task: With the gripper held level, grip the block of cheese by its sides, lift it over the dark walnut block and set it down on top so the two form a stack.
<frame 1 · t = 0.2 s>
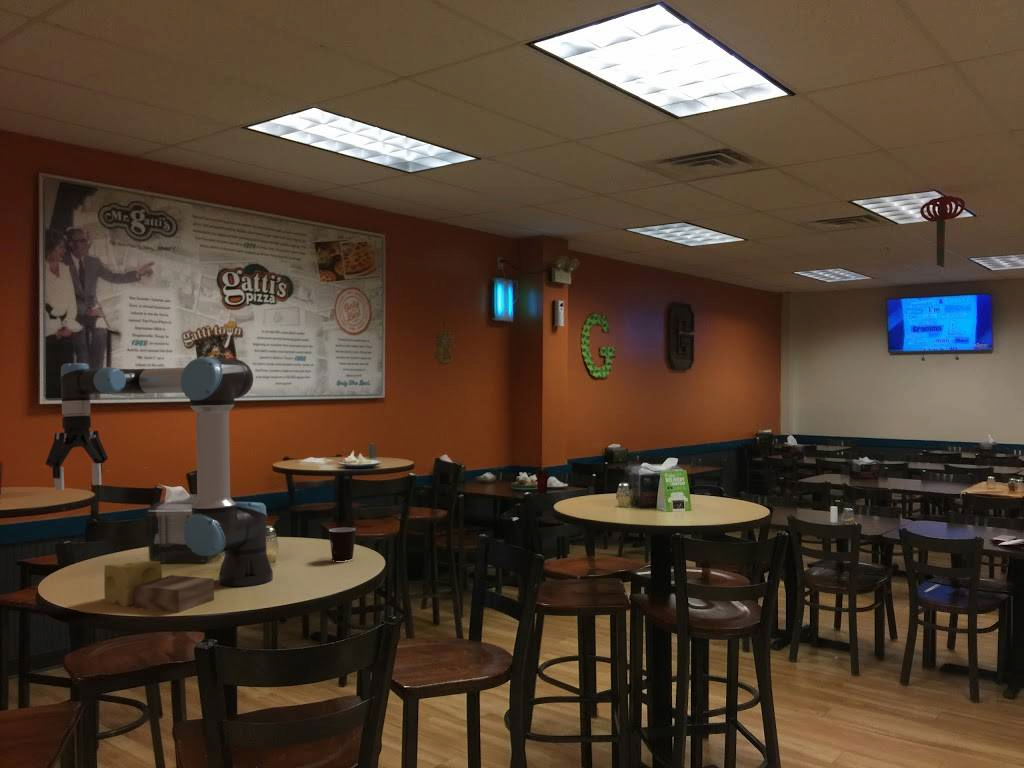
hand: (78, 487, 247), 27 cm above the table, tool pointing down, fingers open, 13 cm apart
cheese: (132, 601, 223), on the table
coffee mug: (343, 560, 274), on the table
walnut block: (175, 605, 218), on the table
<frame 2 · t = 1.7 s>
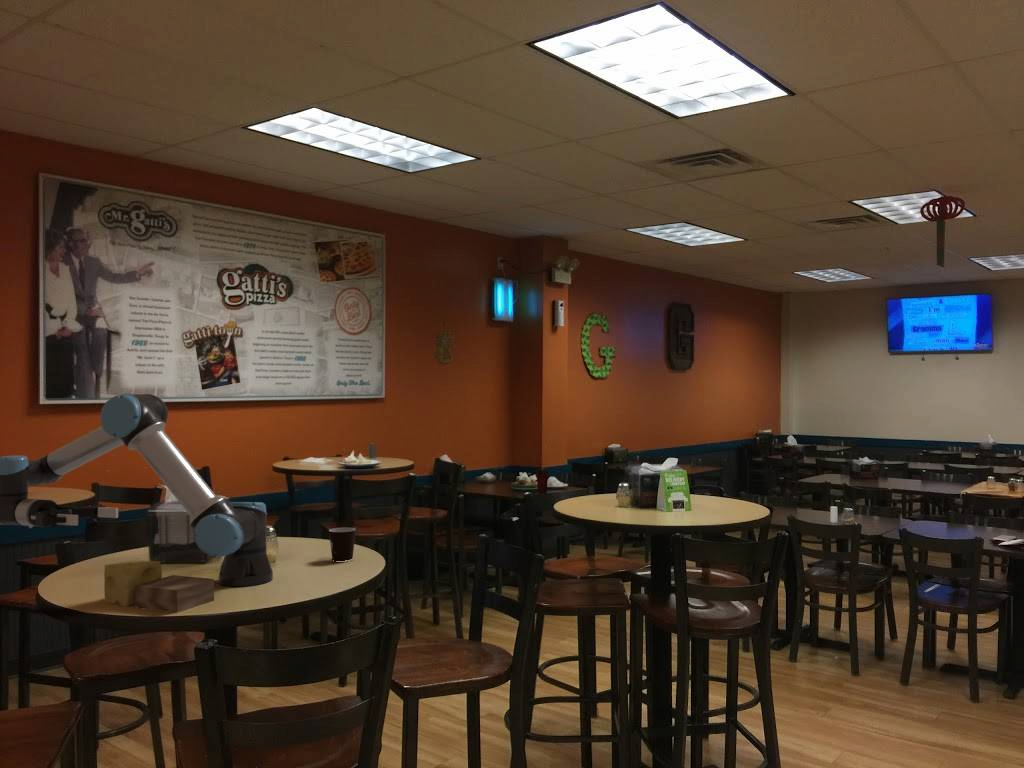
hand: (97, 516, 227), 22 cm above the table, tool horizontal, fingers open, 13 cm apart
nothing on the table moved.
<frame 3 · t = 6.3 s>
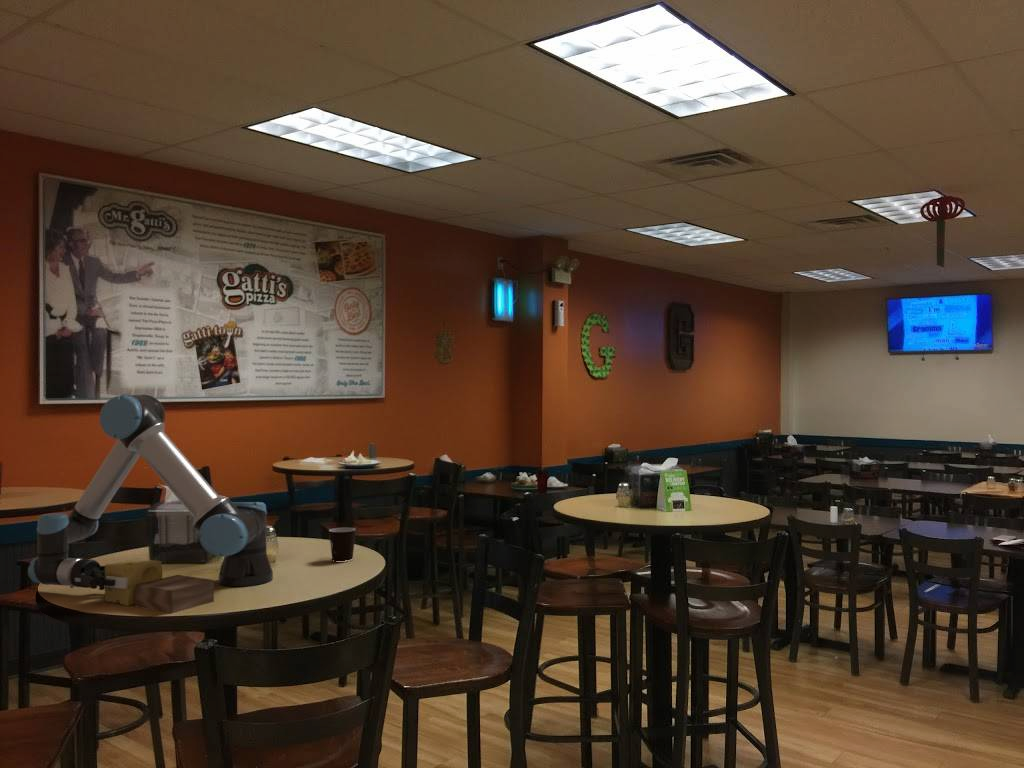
hand: (143, 578, 221), 6 cm above the table, tool horizontal, fingers closed on cheese, 11 cm apart
cheese: (132, 600, 223), on the table, touching gripper
when the fingers open (13 cm above the table, at t = 11.0 s): cheese drops 2 cm, point 5 cm above the table.
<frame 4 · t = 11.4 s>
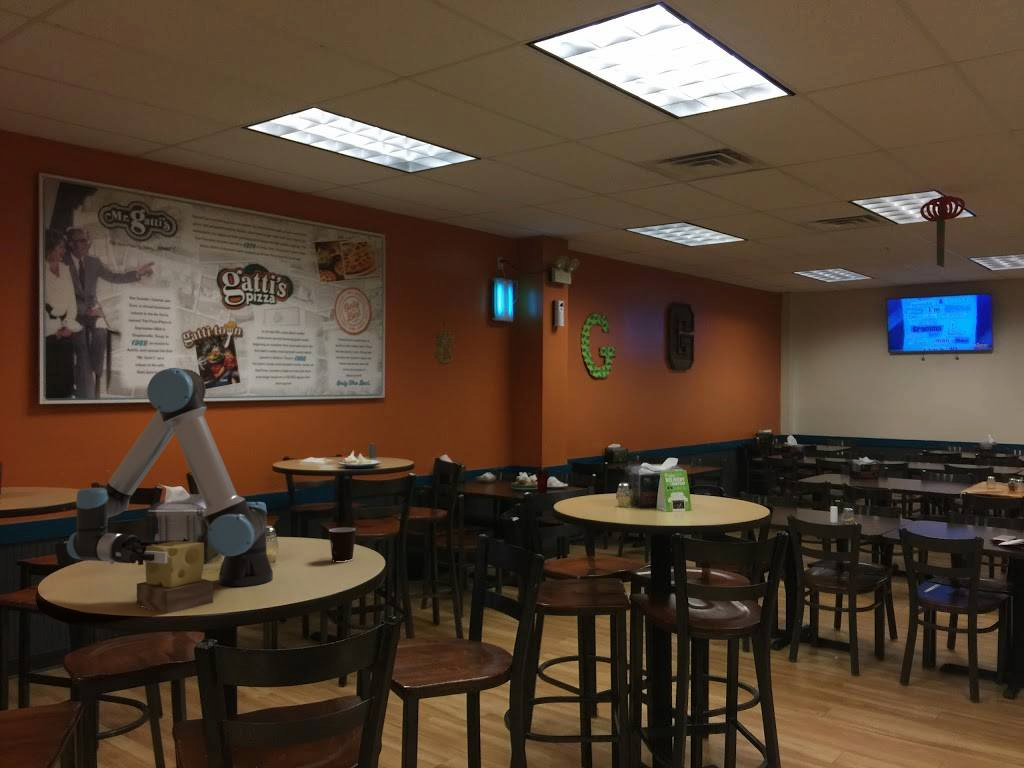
hand: (185, 552, 217), 13 cm above the table, tool horizontal, fingers open, 13 cm apart
cheese: (174, 583, 218), point 5 cm above the table
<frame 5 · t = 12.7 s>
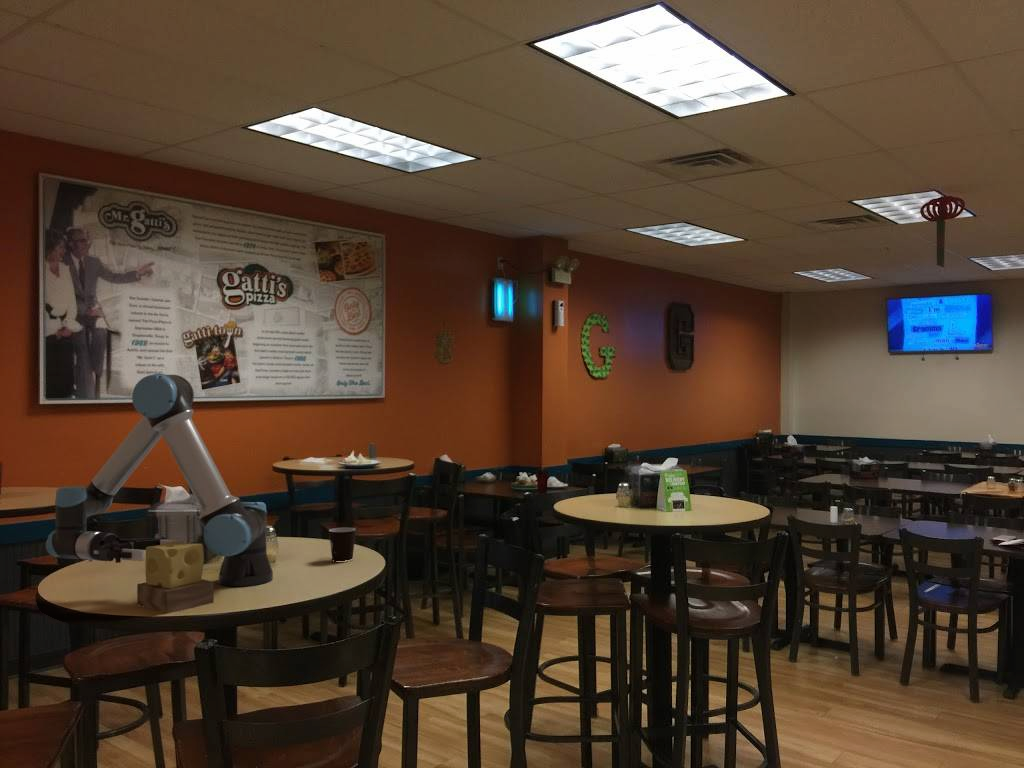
hand: (162, 550, 219), 14 cm above the table, tool horizontal, fingers open, 13 cm apart
cheese: (174, 583, 218), point 5 cm above the table, touching walnut block
walnut block: (175, 605, 218), on the table, touching cheese
everything else where it was.
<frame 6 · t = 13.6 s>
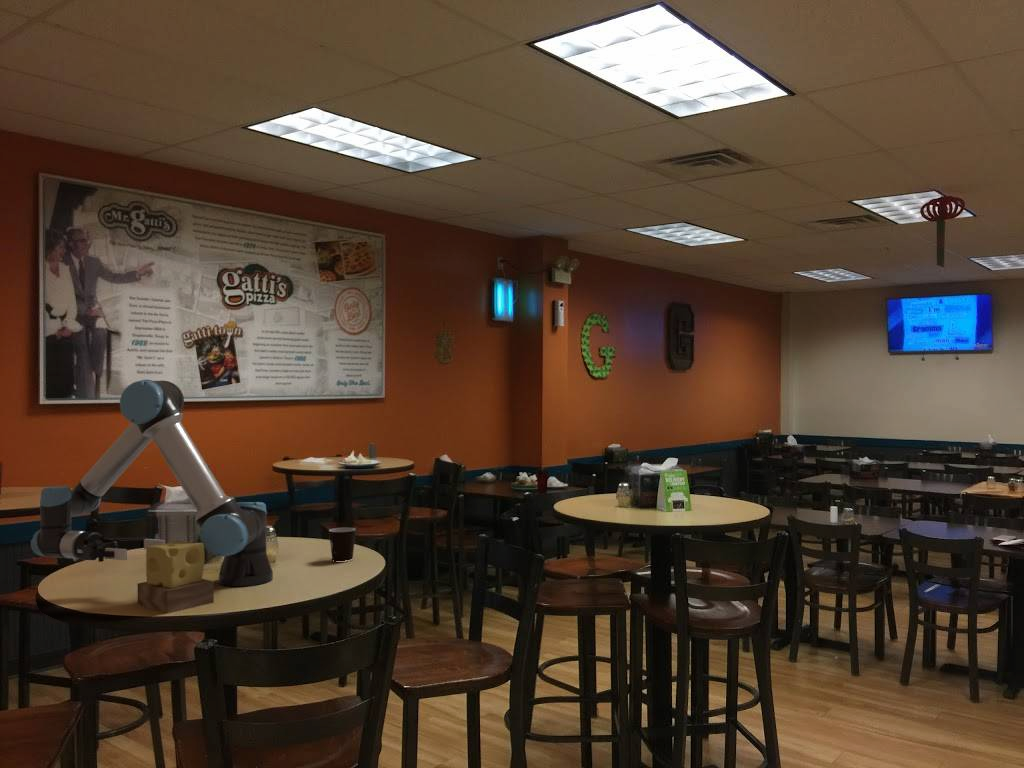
hand: (145, 549, 221), 14 cm above the table, tool horizontal, fingers open, 13 cm apart
nothing on the table moved.
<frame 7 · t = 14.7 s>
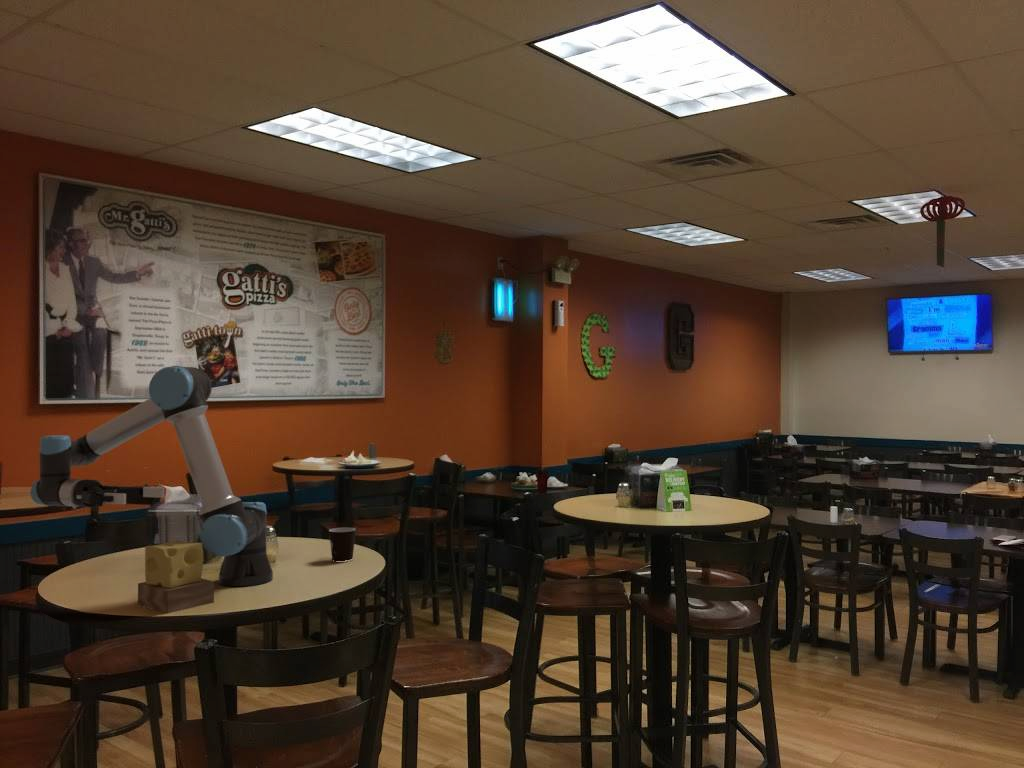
hand: (144, 495, 221), 28 cm above the table, tool horizontal, fingers open, 13 cm apart
cheese: (173, 583, 218), point 5 cm above the table
walnut block: (176, 605, 218), on the table
everything else where it was.
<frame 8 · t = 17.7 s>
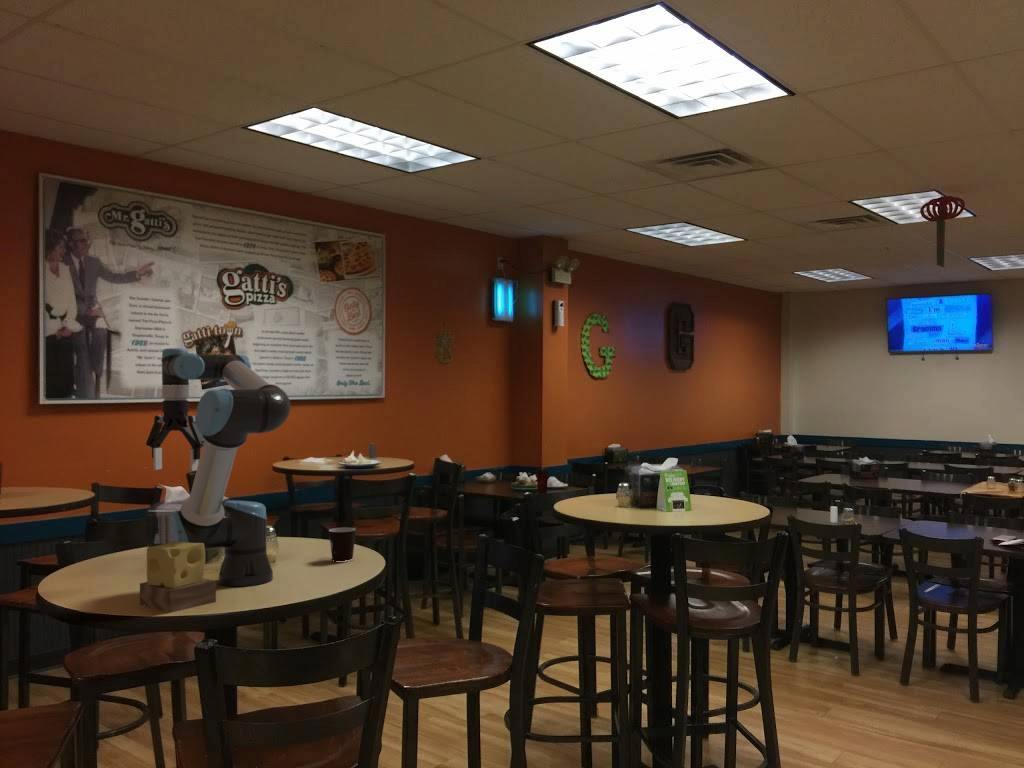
hand: (175, 470, 253), 32 cm above the table, tool pointing down, fingers open, 13 cm apart
cheese: (175, 583, 218), point 5 cm above the table, touching walnut block
walnut block: (178, 605, 219), on the table, touching cheese
everything else where it was.
at the end: cheese inside the target area on the walnut block (0.9 cm from its centre), point 5.8 cm above the walnut block's base; cheese tilted 0°; the gripper is holding nothing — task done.
